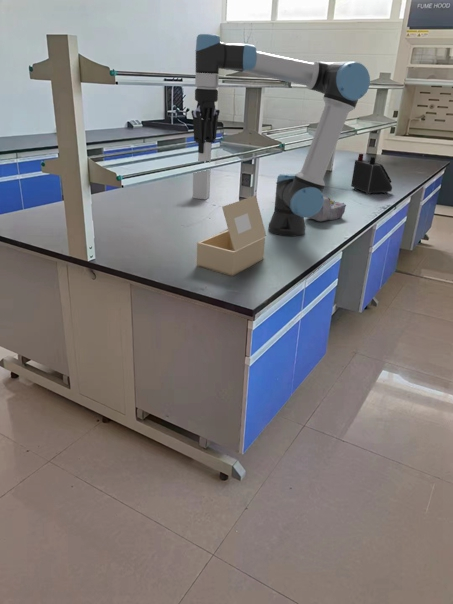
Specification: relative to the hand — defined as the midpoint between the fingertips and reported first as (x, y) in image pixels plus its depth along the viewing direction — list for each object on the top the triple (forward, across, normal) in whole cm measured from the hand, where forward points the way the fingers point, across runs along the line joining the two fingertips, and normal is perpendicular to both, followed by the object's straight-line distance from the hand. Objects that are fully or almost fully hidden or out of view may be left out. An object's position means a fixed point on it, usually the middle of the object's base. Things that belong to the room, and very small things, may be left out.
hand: (204, 162), depth 169 cm
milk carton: (+30, -58, -42) cm, 78 cm away
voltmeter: (+30, -140, +19) cm, 144 cm away
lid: (+15, +10, +23) cm, 29 cm away
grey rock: (+30, -66, +21) cm, 76 cm away
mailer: (+29, +10, +19) cm, 36 cm away
